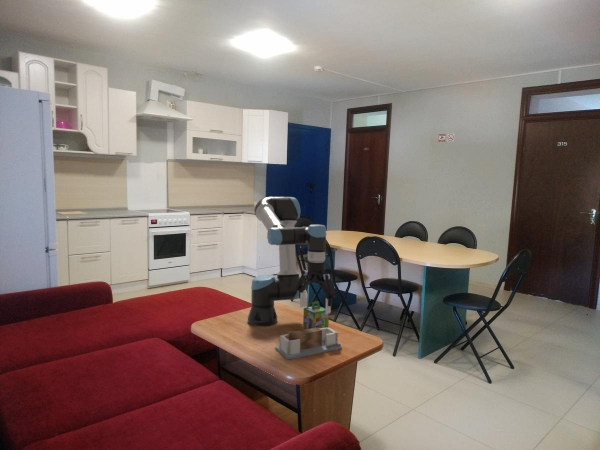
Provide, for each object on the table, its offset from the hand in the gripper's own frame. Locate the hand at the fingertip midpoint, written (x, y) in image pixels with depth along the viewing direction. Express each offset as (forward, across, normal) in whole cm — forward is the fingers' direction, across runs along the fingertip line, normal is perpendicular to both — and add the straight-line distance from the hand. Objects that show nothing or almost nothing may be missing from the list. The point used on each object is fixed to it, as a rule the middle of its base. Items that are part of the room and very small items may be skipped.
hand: (315, 310), depth 172 cm
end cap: (+16, +2, +6) cm, 17 cm away
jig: (+17, -1, -2) cm, 17 cm away
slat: (+16, -2, -4) cm, 16 cm away
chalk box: (+17, -11, +16) cm, 26 cm away
